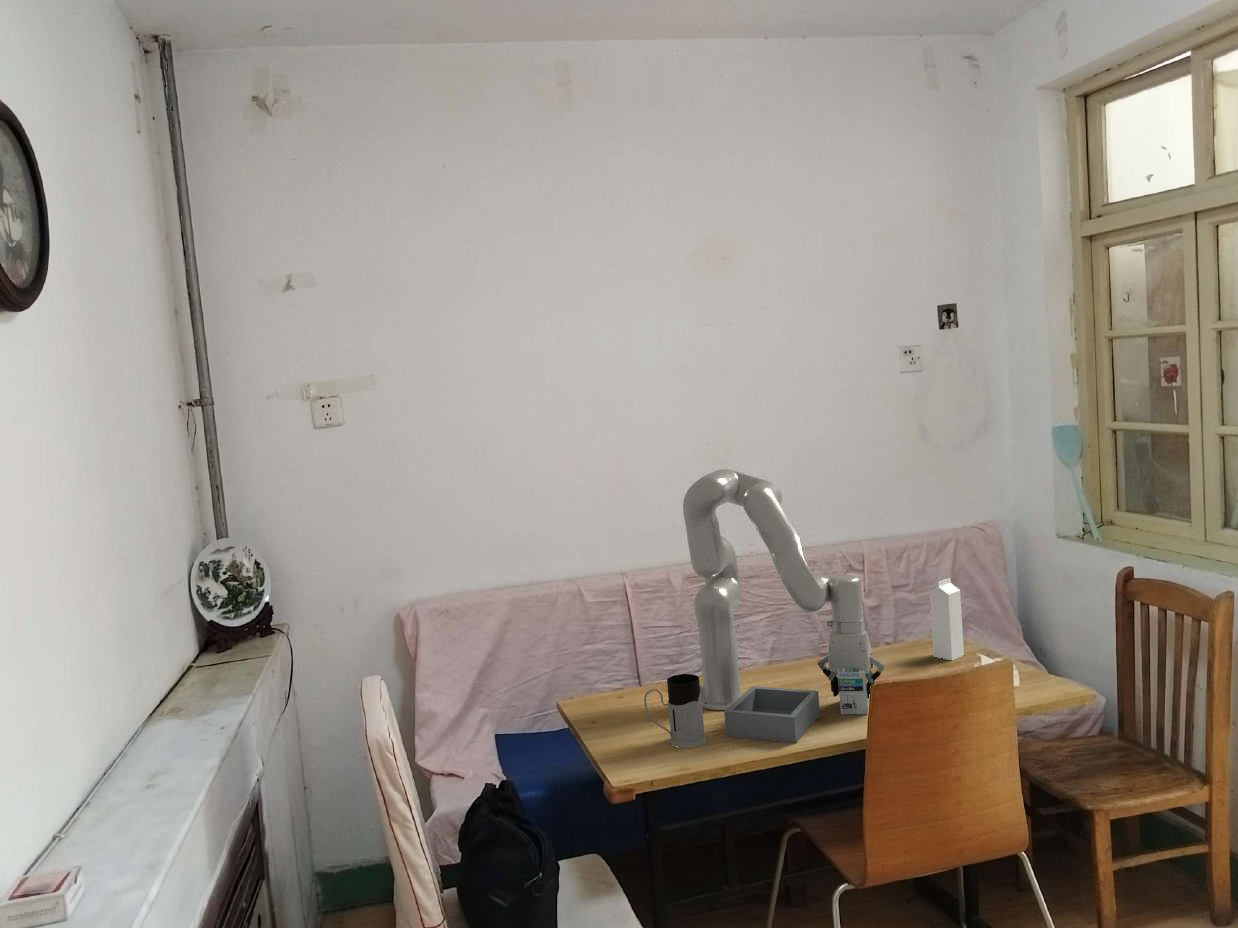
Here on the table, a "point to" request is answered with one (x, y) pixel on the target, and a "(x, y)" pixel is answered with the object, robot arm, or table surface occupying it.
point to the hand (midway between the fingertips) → (853, 695)
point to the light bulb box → (852, 691)
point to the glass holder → (683, 711)
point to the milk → (946, 621)
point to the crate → (772, 714)
